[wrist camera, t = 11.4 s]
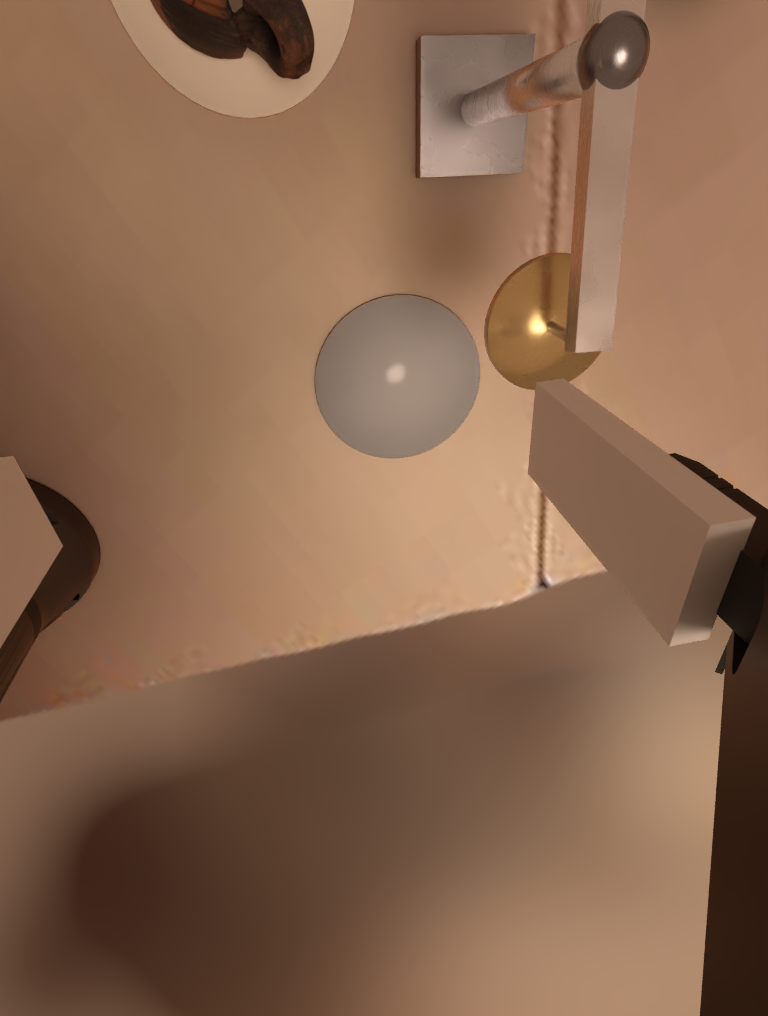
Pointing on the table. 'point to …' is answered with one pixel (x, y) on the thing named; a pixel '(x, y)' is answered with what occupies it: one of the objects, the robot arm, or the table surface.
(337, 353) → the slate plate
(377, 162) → the table surface
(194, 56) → the cream plate
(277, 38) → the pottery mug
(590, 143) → the balance
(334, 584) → the table surface
